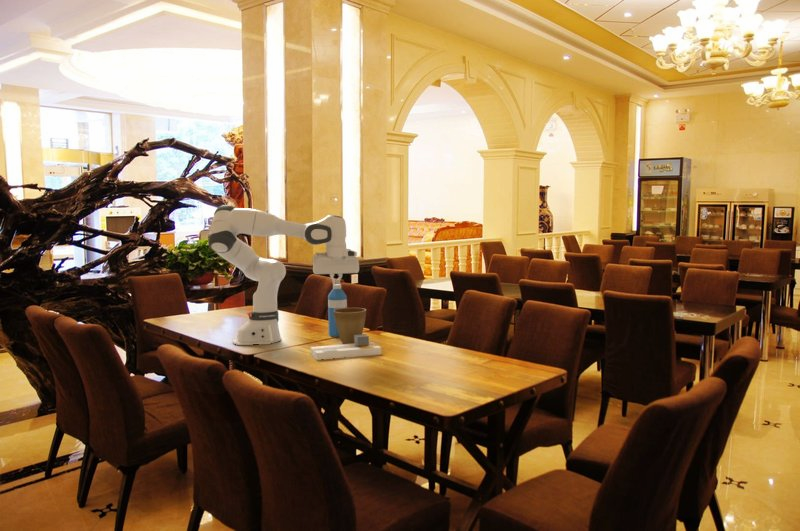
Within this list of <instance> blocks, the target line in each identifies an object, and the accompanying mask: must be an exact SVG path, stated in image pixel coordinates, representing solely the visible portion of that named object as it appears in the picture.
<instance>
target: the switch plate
mask: <svg viewBox="0 0 800 531" xmlns="http://www.w3.org/2000/svg"><path fill="white" fill-rule="evenodd" d="M310 355H311V356H312V357H313V358H314V359H315V360H316V361H322V360H321V359H324V360H332V359H333V358H335V359H344V357H346V358H354V357H367V356H377V355H382V346H380V345H377V344H376V343H375V342H374V341H369V345H368V346H362V347H356V345H355V344H354V343H352V344H343V343H342V344H332V345H321V346H310Z"/></svg>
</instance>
